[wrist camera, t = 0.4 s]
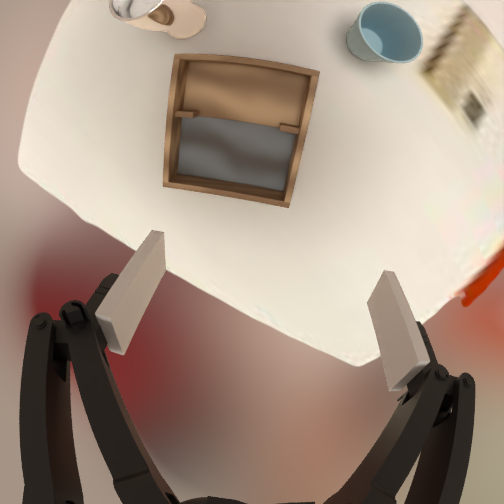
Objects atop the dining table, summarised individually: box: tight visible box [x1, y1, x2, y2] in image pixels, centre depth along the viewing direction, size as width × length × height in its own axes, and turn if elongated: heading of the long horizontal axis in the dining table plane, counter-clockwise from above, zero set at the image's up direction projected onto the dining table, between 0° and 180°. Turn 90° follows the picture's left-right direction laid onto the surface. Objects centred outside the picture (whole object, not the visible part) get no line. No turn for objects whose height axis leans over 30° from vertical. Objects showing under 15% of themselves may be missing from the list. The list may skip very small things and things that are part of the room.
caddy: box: [163, 54, 320, 208], centre depth 33 cm, size 19×18×4 cm
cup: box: [346, 2, 423, 63], centre depth 22 cm, size 8×8×10 cm
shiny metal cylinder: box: [109, 0, 206, 39], centre depth 20 cm, size 7×7×15 cm
